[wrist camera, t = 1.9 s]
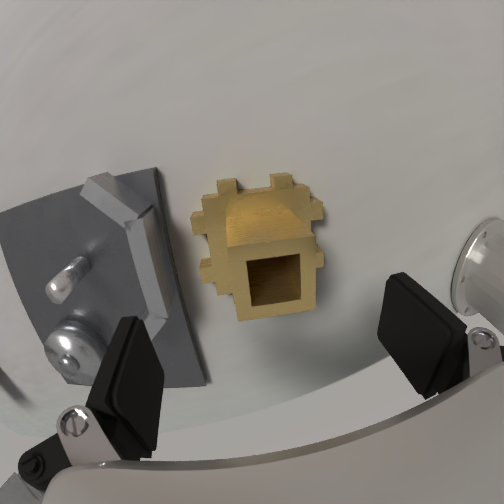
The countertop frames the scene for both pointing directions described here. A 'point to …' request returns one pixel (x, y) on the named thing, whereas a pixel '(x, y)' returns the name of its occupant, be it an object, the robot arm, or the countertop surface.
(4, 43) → the countertop surface
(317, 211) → the gear
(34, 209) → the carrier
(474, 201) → the countertop surface
